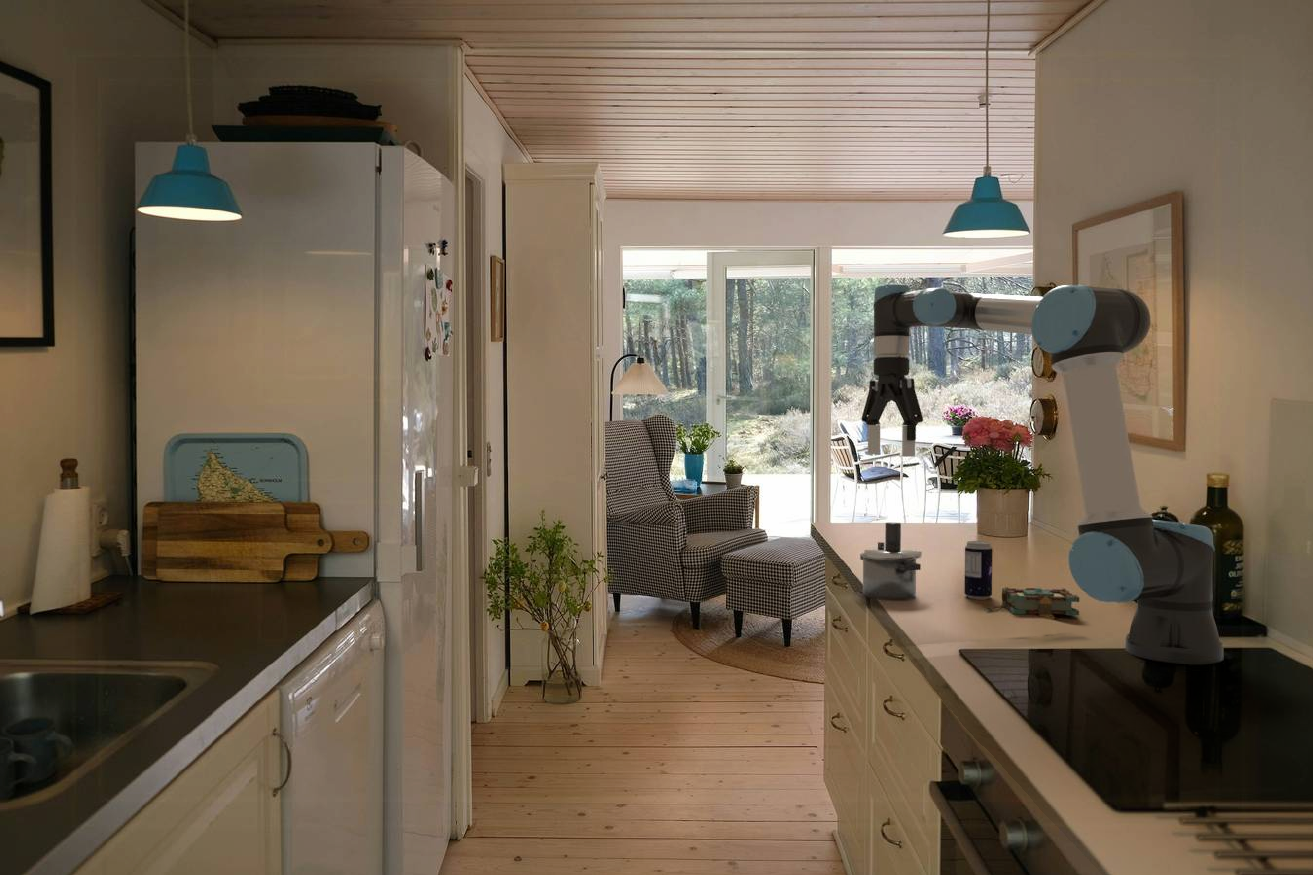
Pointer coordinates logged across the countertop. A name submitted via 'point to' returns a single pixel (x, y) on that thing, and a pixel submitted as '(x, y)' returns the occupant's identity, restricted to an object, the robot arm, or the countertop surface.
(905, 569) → the pot
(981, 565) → the beverage can
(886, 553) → the lid
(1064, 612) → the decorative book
